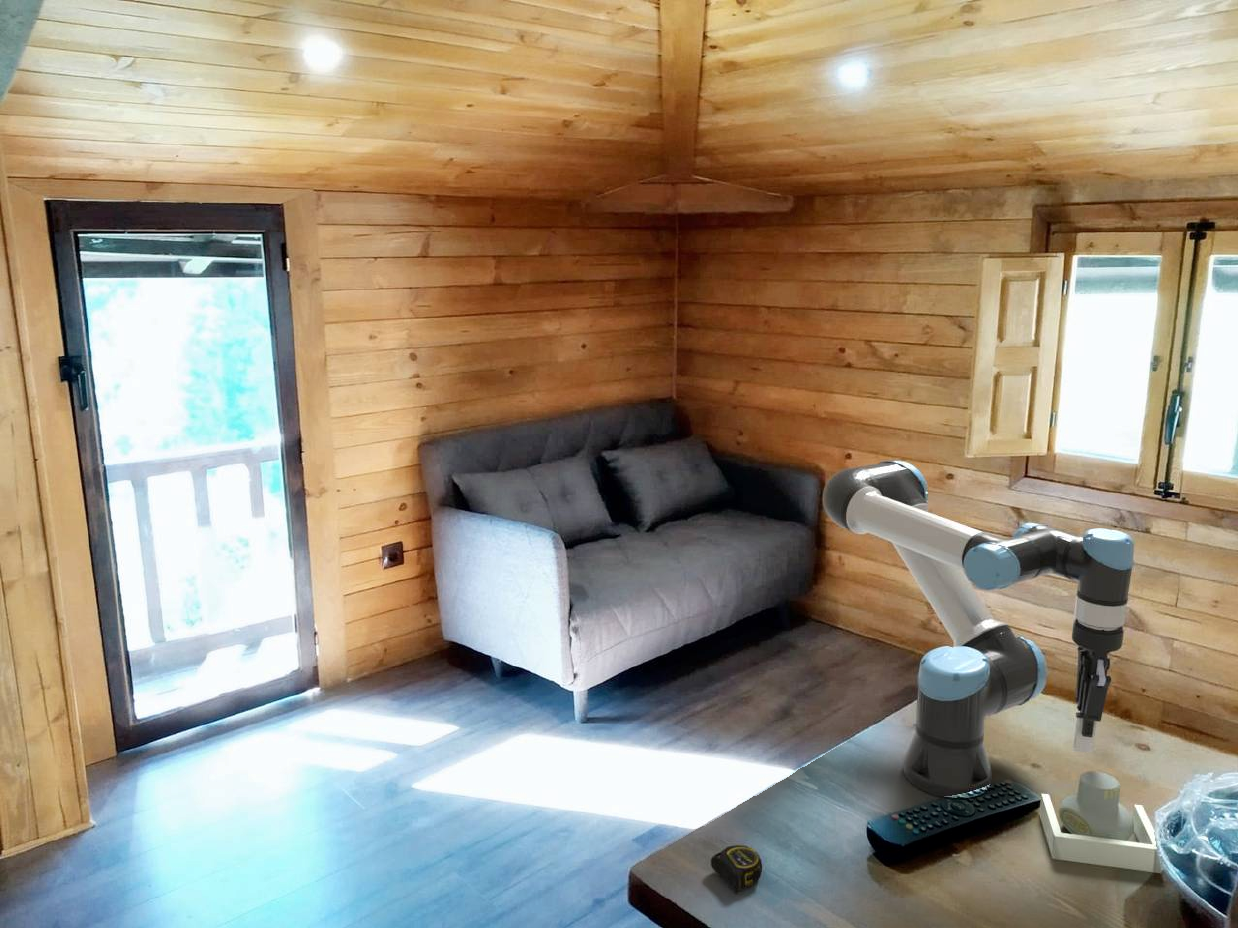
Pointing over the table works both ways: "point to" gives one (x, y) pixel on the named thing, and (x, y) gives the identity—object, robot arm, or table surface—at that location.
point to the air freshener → (1097, 809)
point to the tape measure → (738, 866)
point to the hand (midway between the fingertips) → (1082, 749)
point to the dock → (1102, 843)
